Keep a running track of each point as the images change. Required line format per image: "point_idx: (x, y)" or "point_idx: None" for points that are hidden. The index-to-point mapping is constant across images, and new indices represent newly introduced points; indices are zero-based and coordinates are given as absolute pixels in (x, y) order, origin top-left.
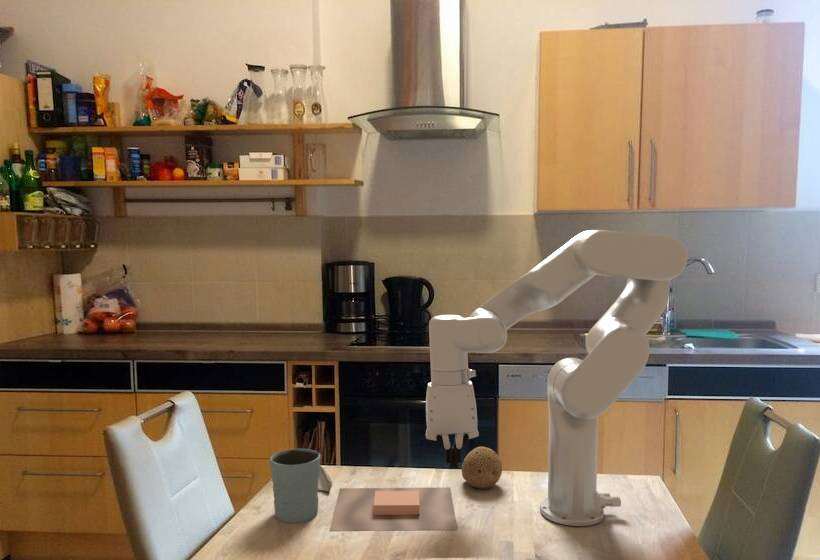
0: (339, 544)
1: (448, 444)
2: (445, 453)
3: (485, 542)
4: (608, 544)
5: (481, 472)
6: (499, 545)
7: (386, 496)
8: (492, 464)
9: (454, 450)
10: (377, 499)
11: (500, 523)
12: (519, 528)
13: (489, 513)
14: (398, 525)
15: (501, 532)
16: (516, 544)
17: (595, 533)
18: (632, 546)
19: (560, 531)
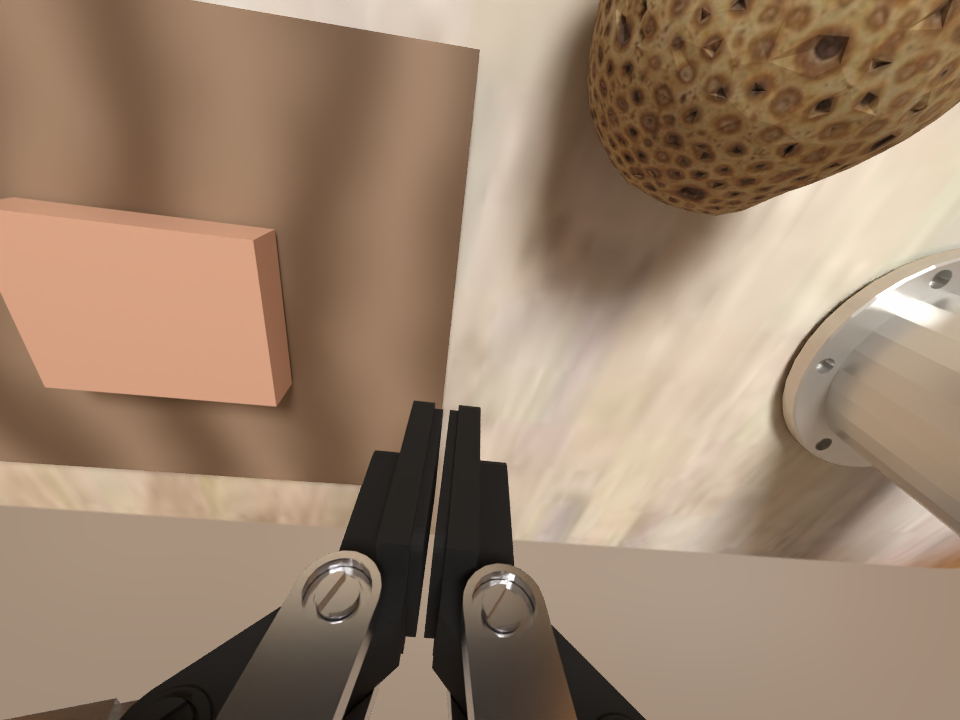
0: (47, 470)
1: (354, 709)
2: (357, 503)
3: (511, 497)
4: (825, 529)
5: (700, 202)
6: (544, 512)
7: (72, 295)
8: (845, 168)
9: (431, 635)
10: (34, 325)
11: (605, 403)
12: (650, 439)
13: (601, 325)
14: (219, 447)
15: (581, 454)
16: (593, 511)
17: (846, 484)
18: (871, 540)
19: (760, 466)
